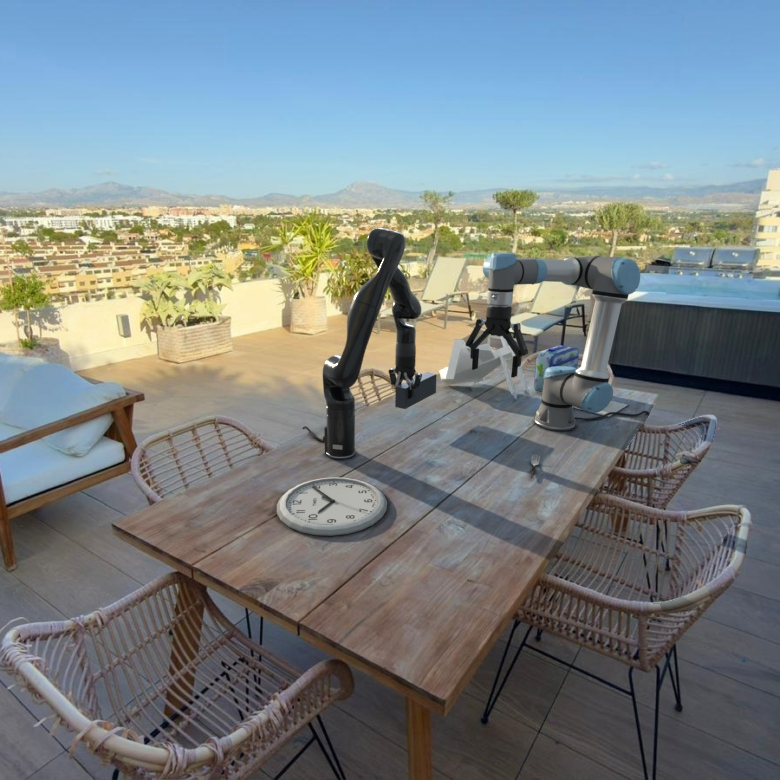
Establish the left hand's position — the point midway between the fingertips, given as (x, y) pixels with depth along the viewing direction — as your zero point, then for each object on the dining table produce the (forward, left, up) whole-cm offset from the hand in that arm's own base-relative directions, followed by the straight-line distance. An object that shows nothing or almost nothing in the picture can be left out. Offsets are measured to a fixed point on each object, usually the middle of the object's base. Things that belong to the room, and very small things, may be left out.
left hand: (404, 397), depth 199 cm
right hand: (+39, -12, +18) cm, 44 cm away
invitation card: (+61, +65, -11) cm, 90 cm away
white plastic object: (+9, +55, -11) cm, 57 cm away
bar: (0, +9, -4) cm, 10 cm away
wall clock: (+14, -64, -11) cm, 67 cm away
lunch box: (+38, +78, -11) cm, 87 cm away
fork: (+54, -12, -11) cm, 57 cm away
